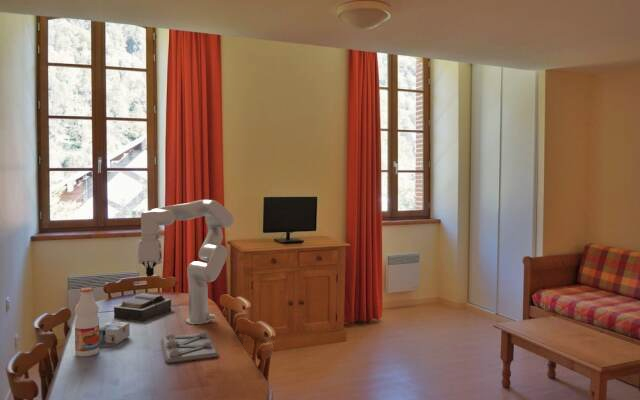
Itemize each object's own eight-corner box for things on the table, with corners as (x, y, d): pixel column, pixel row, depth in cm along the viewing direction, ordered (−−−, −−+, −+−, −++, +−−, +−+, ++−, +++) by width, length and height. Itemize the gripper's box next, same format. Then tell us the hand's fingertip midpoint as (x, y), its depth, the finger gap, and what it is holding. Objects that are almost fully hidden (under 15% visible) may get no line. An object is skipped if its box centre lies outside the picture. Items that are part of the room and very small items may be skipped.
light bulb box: (117, 329, 217) (95, 327, 218) (117, 344, 217) (95, 342, 219) (129, 322, 228) (108, 320, 229) (129, 336, 228) (108, 334, 229)
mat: (129, 335, 230) (129, 334, 230) (112, 347, 214) (112, 346, 214) (100, 334, 231) (100, 333, 231) (82, 346, 215) (82, 345, 215)
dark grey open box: (177, 312, 272) (177, 294, 271) (136, 324, 249) (136, 305, 248) (149, 305, 284) (149, 289, 283) (108, 317, 261) (108, 299, 260)
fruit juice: (86, 348, 213) (86, 285, 212) (104, 350, 210) (103, 287, 209) (70, 355, 204) (69, 290, 203) (88, 358, 201) (87, 291, 200)
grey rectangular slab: (219, 359, 203) (219, 342, 203) (165, 366, 196) (165, 348, 195) (208, 336, 231) (208, 322, 231) (161, 342, 223) (160, 326, 223)
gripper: (168, 236, 230) (168, 274, 231) (137, 235, 230) (137, 274, 231) (162, 238, 222) (162, 278, 223) (130, 238, 223) (130, 277, 224)
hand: (149, 275), depth 227 cm, fingers closed
